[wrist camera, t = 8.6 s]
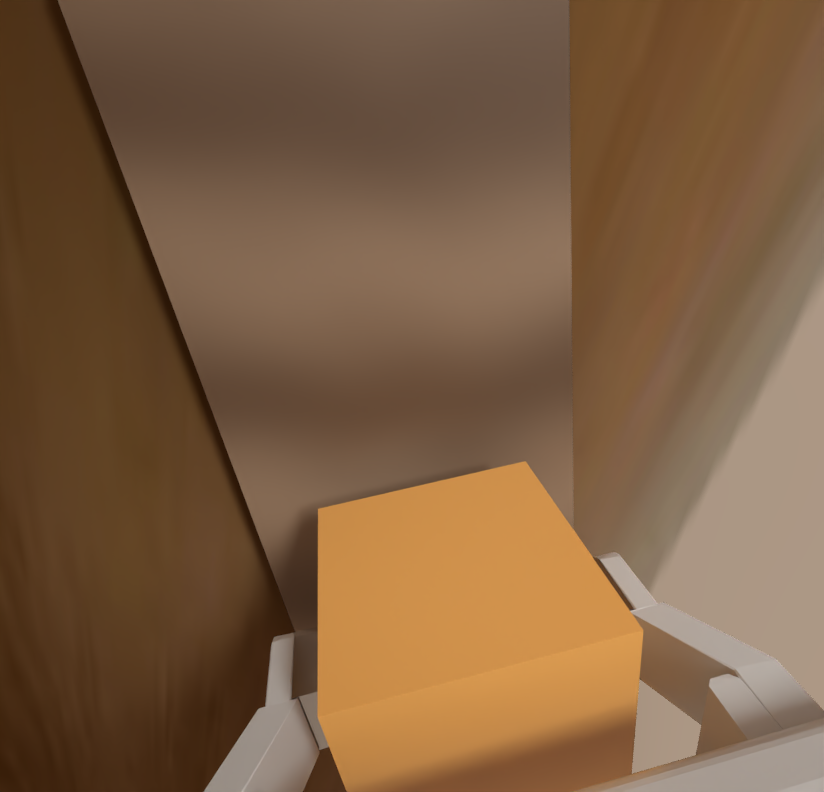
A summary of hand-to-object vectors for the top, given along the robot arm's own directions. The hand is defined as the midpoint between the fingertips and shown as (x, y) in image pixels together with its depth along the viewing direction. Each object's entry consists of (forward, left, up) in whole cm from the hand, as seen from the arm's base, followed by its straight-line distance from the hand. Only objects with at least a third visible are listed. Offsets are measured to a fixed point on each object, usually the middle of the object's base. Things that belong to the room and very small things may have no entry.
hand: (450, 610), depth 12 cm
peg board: (-5, 0, -4) cm, 6 cm away
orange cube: (0, 0, -2) cm, 2 cm away
